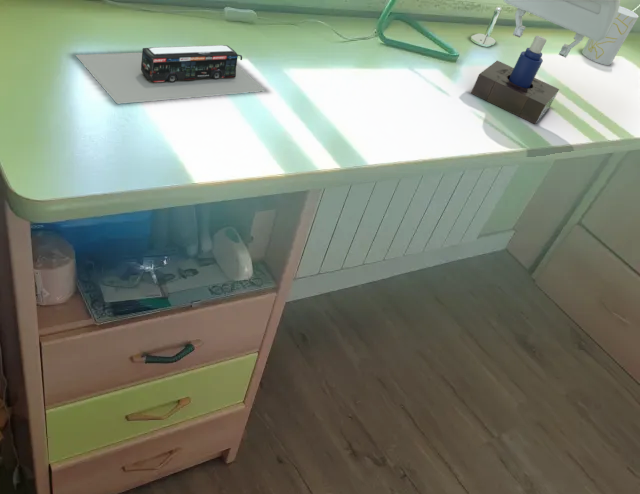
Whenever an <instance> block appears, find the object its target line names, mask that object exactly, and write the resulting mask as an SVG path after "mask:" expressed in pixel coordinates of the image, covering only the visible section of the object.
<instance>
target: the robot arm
mask: <svg viewBox="0 0 640 494" xmlns="http://www.w3.org/2000/svg"><path fill="white" fill-rule="evenodd" d="M503 2H504V3H505V4H507V5H510V6H512V7H514V8H517V9H516V11H515V14H514V16H515V18H514V19H515V28H514V30H513V33H512V35H513V36H514V37H517V38H518V39H519V38H522V36H523V34H524V32H525V30H526V28H527V26H525V25H523V17H524V16H525V15H526V14H527V13H529V14H531V15H533V16H536V17H538V18H540V19H543V20H544V21H548V22H550V23H552V24H554V25H557V26H559V27H562V28H564V29H566V30H568V31H571V32H573V33H575V35H574V37H573V39H574V40H573V42H571V43H570V44H566V43H564V44H563V45H562V47H561V48H560V51H559V53H558V55H559V56H561V57H562V58H565V59H566V58H568V56H569V54H570V51H571V50H572V49H573V48H574V47H576V46H577V45H578V44H580V43H581V42H582V41H583V40H584V38H587V39H589V38H590V39H592V40H595V41H601V40H603V39H604V38H606V36H607V35H608V33H609V31H610V29H611V27H612V25H613V22H614V20H615V18H616V15H617V12H618V9H619V6H621V0H503Z"/></svg>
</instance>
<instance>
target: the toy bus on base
mask: <svg viewBox="0 0 640 494" xmlns="http://www.w3.org/2000/svg"><path fill="white" fill-rule="evenodd" d="M141 51H142V52H120V53H119V52H118V53H95V54H94V53H91V54H75V57H76V58H77V59H78V60H79V61H80V62H81V63H82V65H83V66H84V68H85V69H87V71H88V72H89V73H90V74H91V75H92V77H94V79H95V80H96V81H97V82H98V83H99V85H100V86H101V87H102V88H103V89H104V90H105V92H107V94H108V95H109V96H110V97H111V99H112V100H113V101H114V103H116V104H117V105H119V104H120V105H121V104H132V103H142V102H143V103H144V102H156V101H166V100H178V99H189V98H190V99H191V98H200V97H212V96H223V95H224V96H225V95H235V94H247V93H259V92H266V91H267V90H266V89H265V88H264V87H262V85H260V84H259V83H258V82H257V81H256V80H254V78H252V77H251V76H250V75H249V74H248V73H247V72H246V71H245V70H244V69H242V68H241V66H240V65H238V58H239V57H240V58H239V59H240V61H242V60H243V55H242V54H239V53H237V52H236V51H235V50H234V49H233V48H232V47H230V46H229V45H227V44H225V45H224V44H217V45H216V44H211V45H208V44H207V45H206V44H205V45H179V46H177V45H176V46H175V45H174V46H151V47H142V50H141Z"/></svg>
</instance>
